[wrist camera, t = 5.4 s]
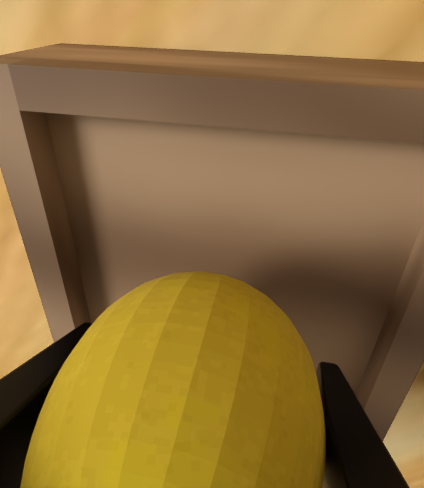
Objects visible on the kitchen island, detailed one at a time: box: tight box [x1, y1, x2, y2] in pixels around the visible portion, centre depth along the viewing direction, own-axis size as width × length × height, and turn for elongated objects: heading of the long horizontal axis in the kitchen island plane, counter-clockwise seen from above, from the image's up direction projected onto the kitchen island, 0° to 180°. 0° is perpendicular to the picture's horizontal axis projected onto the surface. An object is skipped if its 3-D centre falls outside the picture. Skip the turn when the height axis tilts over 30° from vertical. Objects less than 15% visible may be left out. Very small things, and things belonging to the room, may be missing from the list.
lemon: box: [20, 271, 326, 488], centre depth 8 cm, size 6×6×8 cm
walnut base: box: [0, 44, 424, 441], centre depth 13 cm, size 12×12×4 cm
